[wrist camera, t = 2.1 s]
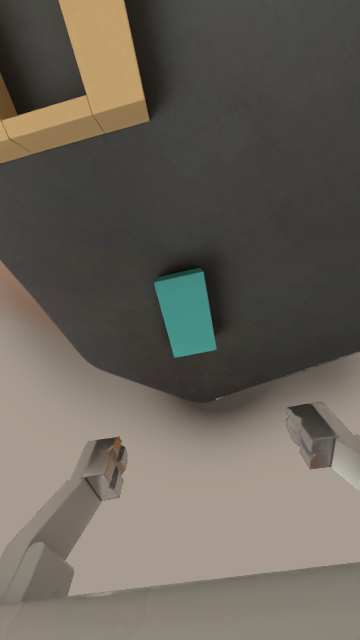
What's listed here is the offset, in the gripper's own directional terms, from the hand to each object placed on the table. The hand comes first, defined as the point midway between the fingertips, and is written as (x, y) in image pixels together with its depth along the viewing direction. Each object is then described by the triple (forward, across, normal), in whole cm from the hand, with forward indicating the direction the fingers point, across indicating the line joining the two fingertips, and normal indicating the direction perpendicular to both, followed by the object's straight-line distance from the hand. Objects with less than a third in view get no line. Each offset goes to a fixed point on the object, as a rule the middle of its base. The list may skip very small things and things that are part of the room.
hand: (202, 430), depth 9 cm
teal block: (+17, 0, 0) cm, 17 cm away
